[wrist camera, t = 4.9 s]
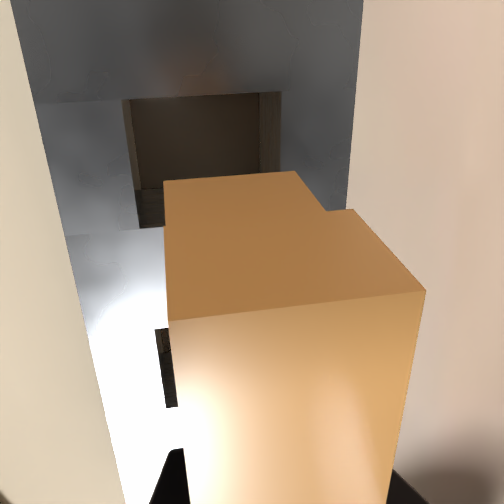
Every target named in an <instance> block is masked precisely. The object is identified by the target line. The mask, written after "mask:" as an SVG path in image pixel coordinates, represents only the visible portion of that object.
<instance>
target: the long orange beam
mask: <svg viewBox="0 0 504 504" xmlns="http://www.w3.org/2000/svg"><path fill="white" fill-rule="evenodd" d="M163 186H164V205H165V224H166V226H163V229H164V252H165V275H166V298H167V321H168V329H169V337H170V345H171V353H172V361H173V369H174V377H175V385H176V393H177V400H178V408H179V416H180V424H181V432H182V440H183V448H184V456H185V464H186V472H187V479H188V487H189V495H190V503H191V504H386V500H387V495H388V489H389V484H390V479H391V473H392V468H393V463H394V458H395V452H396V447H397V442H398V437H399V431H400V426H401V421H402V416H403V410H404V405H405V400H406V395H407V389H408V384H409V379H410V374H411V368H412V363H413V358H414V353H415V347H416V342H417V337H418V331H419V326H420V321H421V316H422V310H423V305H424V300H425V295H426V289H425V288H424V287H423V286H422V285H421V284H420V283H419V282H418V280H417V279H416V278H415V277H414V276H413V275H412V274H411V273H410V272H409V271H408V269H407V268H406V267H405V266H404V265H403V264H402V263H401V262H400V261H399V259H398V258H397V257H396V256H395V255H394V254H393V253H392V252H391V251H390V249H389V248H388V247H387V246H386V245H385V244H384V243H383V242H382V241H381V239H380V238H379V237H378V236H377V235H376V234H375V233H374V232H373V231H372V229H371V228H370V227H369V226H368V225H367V224H366V223H365V222H364V221H363V220H362V218H361V217H360V216H359V215H358V214H357V213H356V212H355V211H354V210H353V209H346V210H335V211H325V209H324V208H323V207H322V205H321V204H320V203H319V201H318V200H317V199H316V198H315V196H314V195H313V194H312V192H311V191H310V190H309V189H308V187H307V186H306V185H305V183H304V182H303V181H302V179H301V178H300V177H299V176H298V174H297V173H296V172H295V171H285V172H272V173H259V174H246V175H233V176H220V177H208V178H195V179H182V180H169V181H163Z"/></svg>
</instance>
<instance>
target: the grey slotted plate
mask: <svg viewBox="0 0 504 504" xmlns="http://www.w3.org/2000/svg"><path fill="white" fill-rule="evenodd" d="M10 1H11V6H12V10H13V14H14V19H15V23H16V27H17V32H18V36H19V40H20V45H21V49H22V53H23V58H24V62H25V66H26V71H27V75H28V79H29V84H30V88H31V92H32V97H33V101H34V105H35V110H36V114H37V118H38V123H39V127H40V131H41V136H42V140H43V144H44V149H45V153H46V157H47V162H48V166H49V170H50V175H51V179H52V183H53V188H54V192H55V196H56V201H57V205H58V209H59V214H60V218H61V222H62V227H63V231H64V235H65V240H66V244H67V248H68V253H69V257H70V261H71V266H72V270H73V274H74V279H75V283H76V287H77V292H78V296H79V300H80V305H81V309H82V313H83V318H84V322H85V326H86V331H87V335H88V339H89V344H90V348H91V352H92V357H93V361H94V365H95V370H96V374H97V378H98V383H99V387H100V391H101V396H102V400H103V404H104V409H105V413H106V417H107V422H108V426H109V430H110V435H111V439H112V443H113V448H114V452H115V456H116V461H117V465H118V469H119V474H120V478H121V482H122V487H123V491H124V495H125V500H126V504H149V501H150V498H151V496H152V493H153V491H154V488H155V485H156V483H157V480H158V477H159V475H160V472H161V470H162V467H163V464H164V462H165V459H166V457H167V454H168V452H169V451H170V450H171V449H175V448H181V447H183V440H182V432H181V424H180V416H179V408H178V400H177V393H176V385H175V377H174V369H173V361H172V353H171V352H164V351H163V344H162V337H161V329H160V328H168V321H167V298H166V275H165V252H164V229H163V226H166V224H165V205H164V188H157V189H144V190H141V183H140V175H139V168H138V161H137V153H136V146H135V139H134V131H133V124H132V117H131V109H130V102H129V99H144V98H163V97H182V96H201V95H220V94H239V93H258V92H259V151H260V173H272V172H285V171H295V172H296V173H297V174H298V176H299V177H300V178H301V179H302V181H303V182H304V183H305V185H306V186H307V187H308V189H309V190H310V191H311V192H312V194H313V195H314V196H315V198H316V199H317V200H318V201H319V203H320V204H321V205H322V207H323V208H324V209H325V211H335V210H346V198H347V187H348V175H349V164H350V152H351V140H352V129H353V117H354V105H355V94H356V82H357V70H358V59H359V47H360V35H361V24H362V12H363V0H10Z"/></svg>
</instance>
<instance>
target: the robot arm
mask: <svg viewBox="0 0 504 504" xmlns="http://www.w3.org/2000/svg"><path fill="white" fill-rule="evenodd" d="M149 504H191V503H190V495H189V487H188V479H187V472H186V464H185V456H184V448H183V447H181V448H175V449H171V450H170V451H169V452H168V454H167V457H166V459H165V462H164V464H163V467H162V470H161V472H160V475H159V477H158V480H157V483H156V485H155V488H154V491H153V493H152V496H151V498H150V501H149ZM386 504H430V503H429V502H427V501H426V500H425V499H424V498H423V497H422V496H421V495H420V494H419V493H418V492H417V491H416V490H415V489H414V488H413V487H412V486H411V485H409V484H408V483H407V482H406V481H405V480H404V479H403V478H402V477H401V476H400V475H399V474H398V473H397V472H396V471H395V470H394V469H393V468H392V473H391V479H390V484H389V489H388V495H387V500H386Z"/></svg>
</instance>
